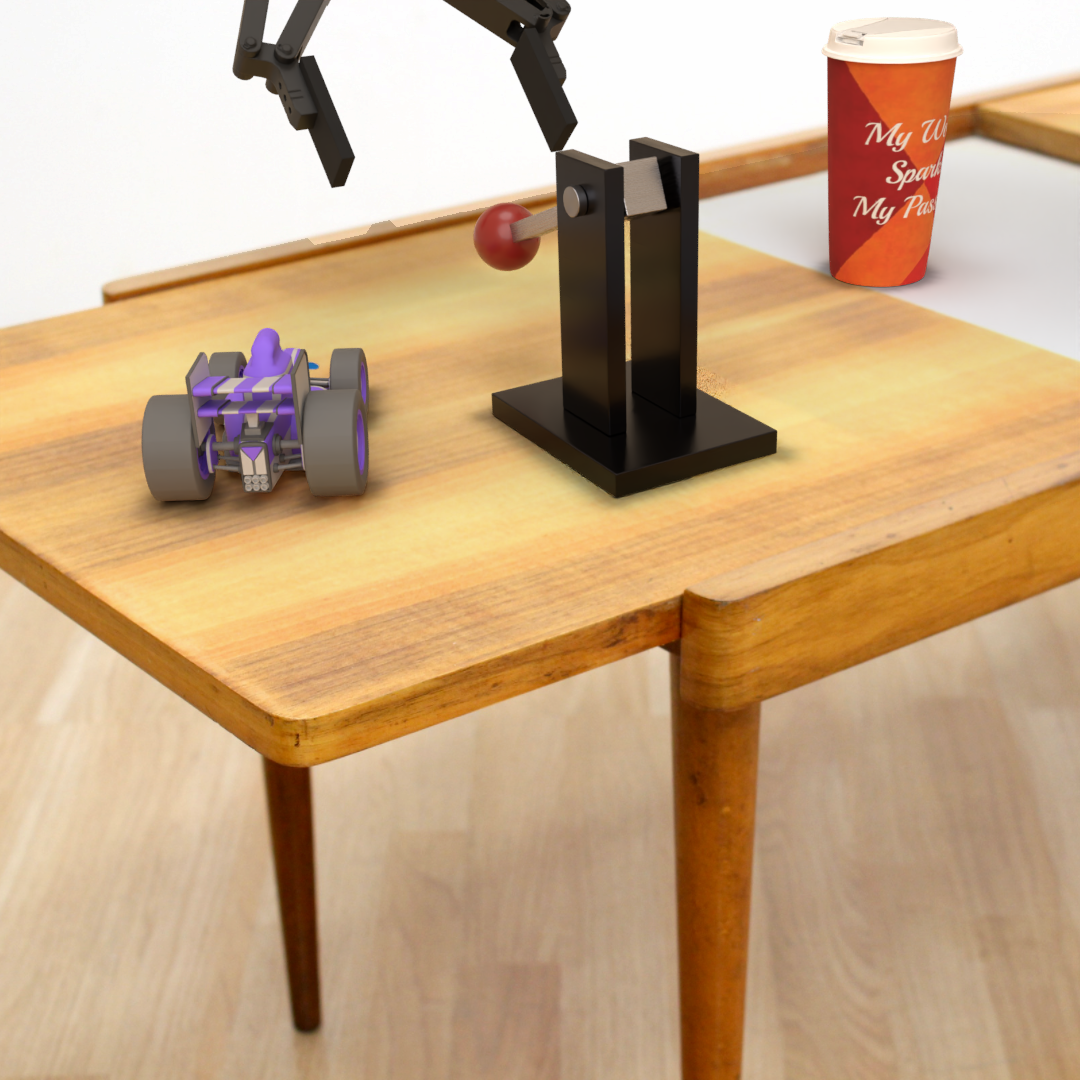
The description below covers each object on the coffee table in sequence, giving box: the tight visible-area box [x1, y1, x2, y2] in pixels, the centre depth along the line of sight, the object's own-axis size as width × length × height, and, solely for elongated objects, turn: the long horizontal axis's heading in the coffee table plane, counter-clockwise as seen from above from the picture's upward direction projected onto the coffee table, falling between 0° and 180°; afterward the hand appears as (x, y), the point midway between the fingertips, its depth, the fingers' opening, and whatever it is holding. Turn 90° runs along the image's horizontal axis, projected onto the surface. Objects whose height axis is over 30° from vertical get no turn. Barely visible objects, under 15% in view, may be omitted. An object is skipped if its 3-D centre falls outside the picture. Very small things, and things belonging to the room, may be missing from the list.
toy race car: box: [140, 327, 370, 502], centre depth 75 cm, size 10×15×6 cm, turn 0°
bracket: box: [490, 136, 778, 499], centre depth 73 cm, size 12×9×14 cm
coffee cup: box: [821, 16, 964, 288], centre depth 95 cm, size 8×8×15 cm
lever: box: [472, 157, 667, 272], centre depth 77 cm, size 16×4×4 cm, turn 30°
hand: (457, 155), depth 85 cm, fingers open, 13 cm apart
